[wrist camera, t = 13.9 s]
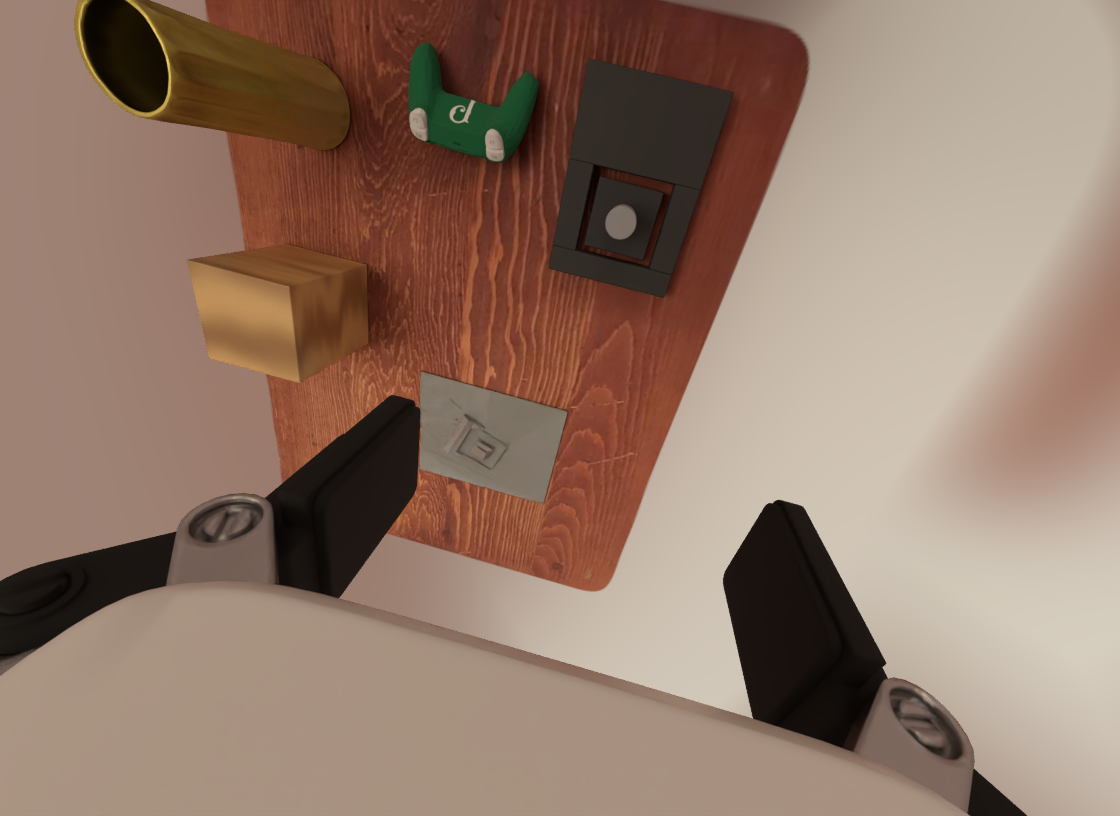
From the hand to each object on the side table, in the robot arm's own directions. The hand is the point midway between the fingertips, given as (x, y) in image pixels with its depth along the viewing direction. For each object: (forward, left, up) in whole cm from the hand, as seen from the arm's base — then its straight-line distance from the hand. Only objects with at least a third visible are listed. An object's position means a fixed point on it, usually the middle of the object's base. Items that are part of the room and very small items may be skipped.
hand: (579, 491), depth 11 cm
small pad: (-5, -1, -28) cm, 29 cm away
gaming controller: (-10, -14, -28) cm, 33 cm away
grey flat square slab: (+22, -14, -28) cm, 39 cm away
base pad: (-7, -1, -28) cm, 29 cm away
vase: (-8, -27, -28) cm, 40 cm away
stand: (+8, -27, -28) cm, 40 cm away
